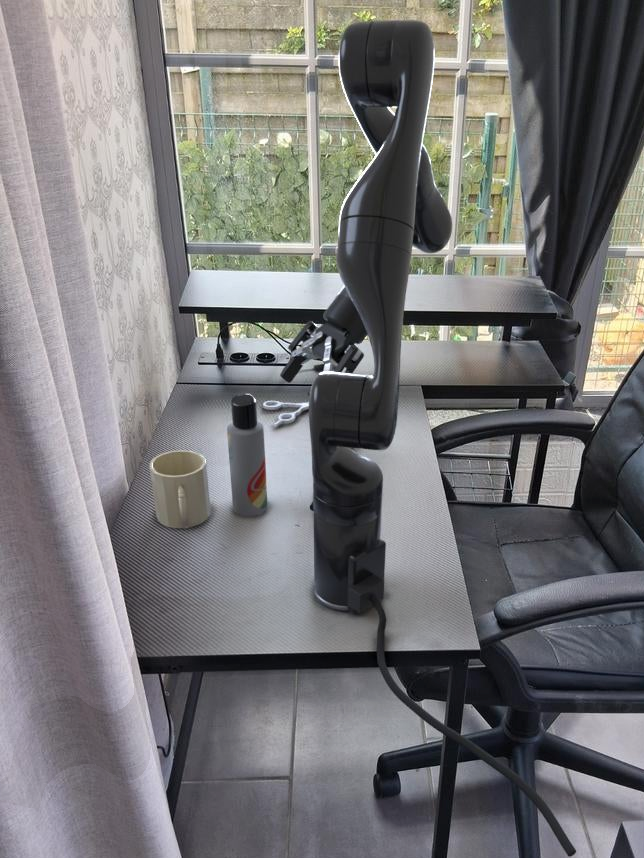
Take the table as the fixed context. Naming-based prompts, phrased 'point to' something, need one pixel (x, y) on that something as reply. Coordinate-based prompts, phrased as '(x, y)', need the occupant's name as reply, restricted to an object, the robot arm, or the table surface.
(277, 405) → the scissors
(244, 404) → the lotion bottle
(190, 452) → the mug
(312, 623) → the table surface
